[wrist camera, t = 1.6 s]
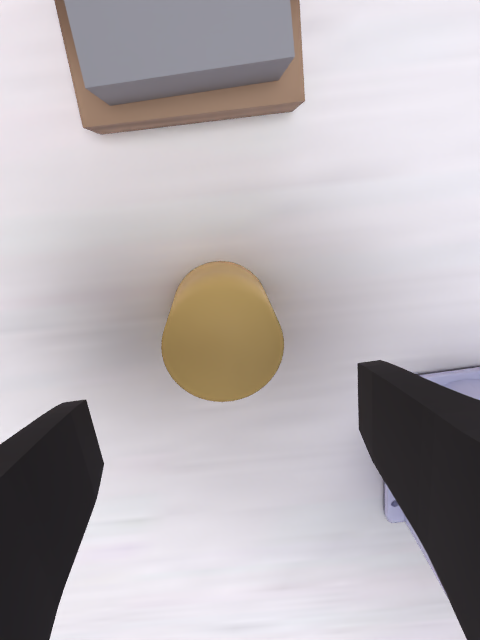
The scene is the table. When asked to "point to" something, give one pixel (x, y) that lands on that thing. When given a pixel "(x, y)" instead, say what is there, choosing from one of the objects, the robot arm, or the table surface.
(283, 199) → the table surface
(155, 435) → the table surface
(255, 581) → the table surface
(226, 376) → the ochre cylinder
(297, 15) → the walnut base block
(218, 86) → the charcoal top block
